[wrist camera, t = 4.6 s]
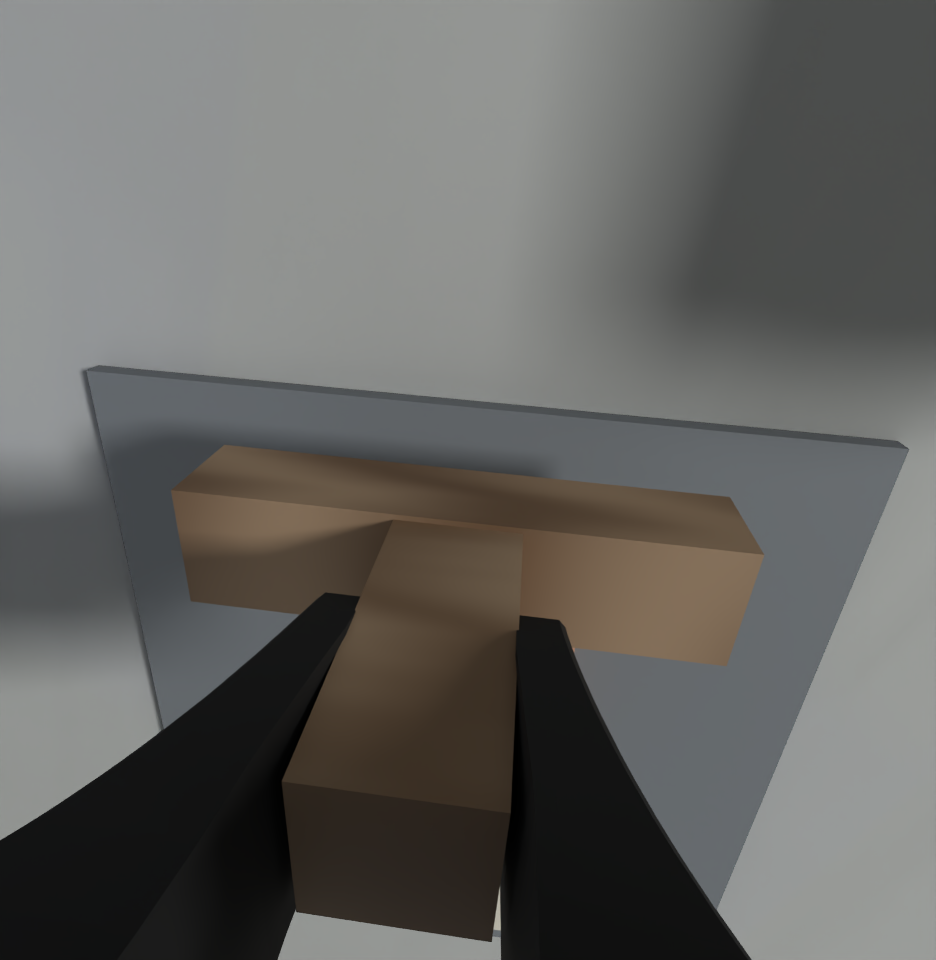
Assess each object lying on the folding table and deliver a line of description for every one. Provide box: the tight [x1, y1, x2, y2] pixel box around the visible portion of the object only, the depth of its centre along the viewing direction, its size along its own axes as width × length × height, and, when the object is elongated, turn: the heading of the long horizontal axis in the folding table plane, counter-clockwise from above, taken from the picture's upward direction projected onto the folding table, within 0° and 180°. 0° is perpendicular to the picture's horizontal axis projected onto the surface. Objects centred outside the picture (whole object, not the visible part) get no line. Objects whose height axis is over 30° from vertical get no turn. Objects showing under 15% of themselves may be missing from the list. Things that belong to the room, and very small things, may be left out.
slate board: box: [86, 366, 909, 937], centre depth 20 cm, size 20×22×1 cm
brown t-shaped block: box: [171, 445, 764, 942], centre depth 9 cm, size 10×2×7 cm, turn 86°
